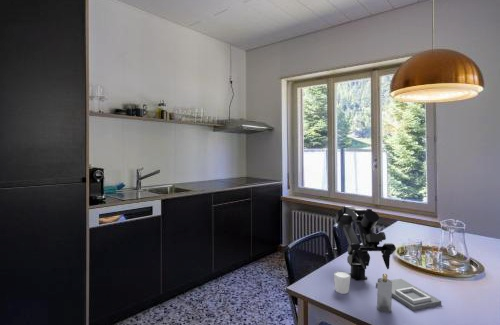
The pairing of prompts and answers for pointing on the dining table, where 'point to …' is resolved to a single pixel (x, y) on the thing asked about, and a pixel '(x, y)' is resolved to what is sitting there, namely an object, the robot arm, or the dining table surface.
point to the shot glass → (342, 282)
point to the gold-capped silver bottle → (384, 294)
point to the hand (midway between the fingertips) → (377, 268)
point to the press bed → (412, 295)
